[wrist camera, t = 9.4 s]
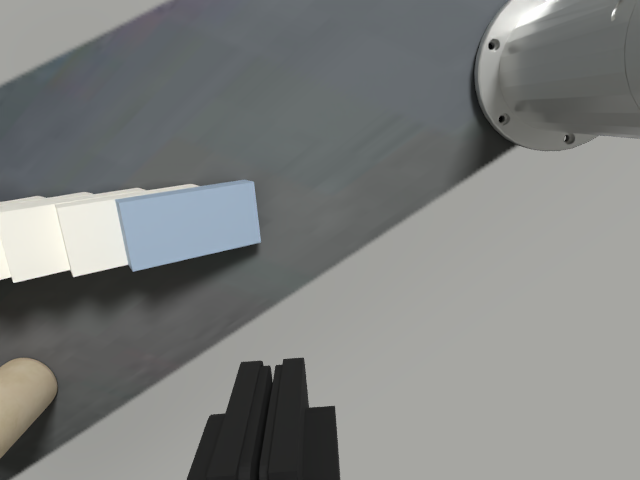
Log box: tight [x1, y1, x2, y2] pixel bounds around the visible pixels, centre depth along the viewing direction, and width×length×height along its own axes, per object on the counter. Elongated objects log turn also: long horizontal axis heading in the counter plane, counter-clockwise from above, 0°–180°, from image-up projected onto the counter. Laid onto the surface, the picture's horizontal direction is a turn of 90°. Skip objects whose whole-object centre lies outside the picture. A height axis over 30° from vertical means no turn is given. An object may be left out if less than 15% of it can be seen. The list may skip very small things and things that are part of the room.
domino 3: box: [0, 188, 146, 283], centre depth 35 cm, size 2×5×10 cm
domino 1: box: [115, 180, 261, 272], centre depth 35 cm, size 2×5×10 cm
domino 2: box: [55, 184, 199, 277], centre depth 35 cm, size 2×5×10 cm
